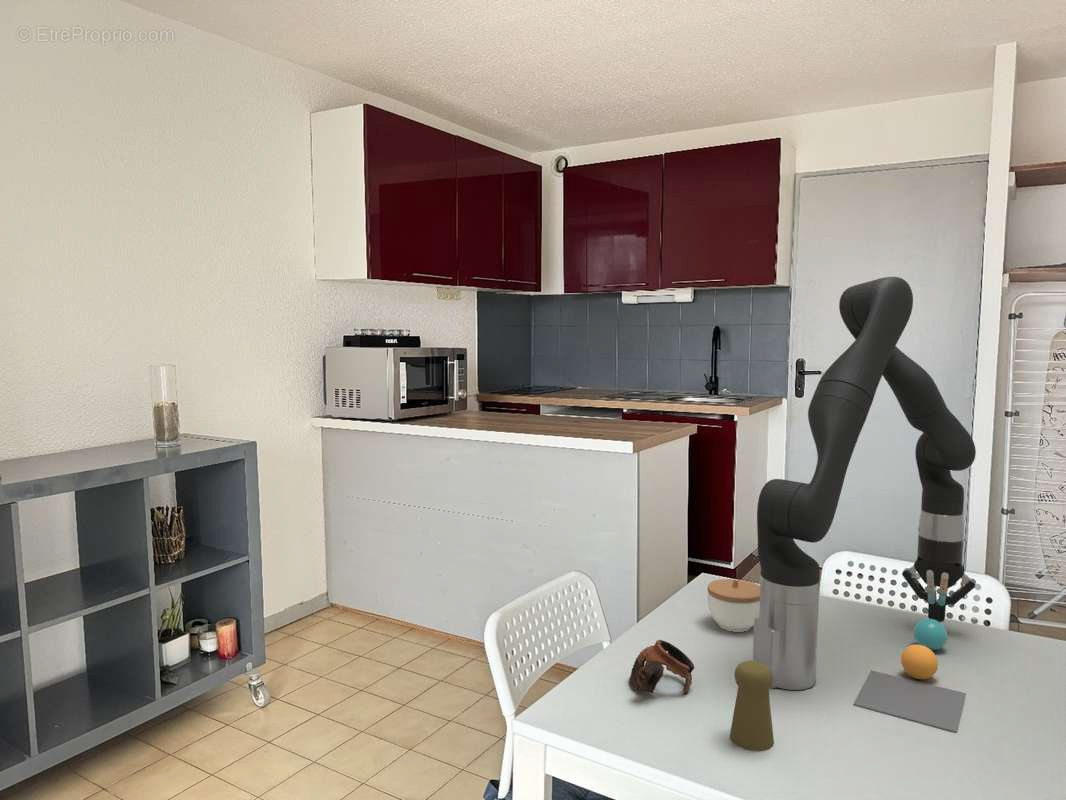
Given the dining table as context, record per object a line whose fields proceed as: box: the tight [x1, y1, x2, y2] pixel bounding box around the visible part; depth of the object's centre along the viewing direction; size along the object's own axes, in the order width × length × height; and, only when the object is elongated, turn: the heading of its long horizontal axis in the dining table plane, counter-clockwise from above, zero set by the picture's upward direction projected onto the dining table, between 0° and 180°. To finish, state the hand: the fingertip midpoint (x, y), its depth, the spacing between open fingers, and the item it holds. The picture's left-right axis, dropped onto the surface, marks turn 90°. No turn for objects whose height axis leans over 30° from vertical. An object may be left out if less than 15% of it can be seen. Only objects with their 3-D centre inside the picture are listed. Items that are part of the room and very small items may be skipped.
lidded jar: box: [707, 578, 760, 633], centre depth 145 cm, size 11×11×9 cm
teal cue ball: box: [913, 618, 948, 651], centre depth 135 cm, size 6×6×6 cm
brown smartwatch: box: [628, 639, 695, 694], centre depth 119 cm, size 12×10×8 cm
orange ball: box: [900, 644, 939, 680], centre depth 124 cm, size 6×6×6 cm
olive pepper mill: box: [729, 660, 775, 752], centre depth 105 cm, size 6×6×11 cm
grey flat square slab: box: [853, 670, 967, 734], centre depth 117 cm, size 14×14×1 cm
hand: (936, 622), depth 143 cm, fingers closed
